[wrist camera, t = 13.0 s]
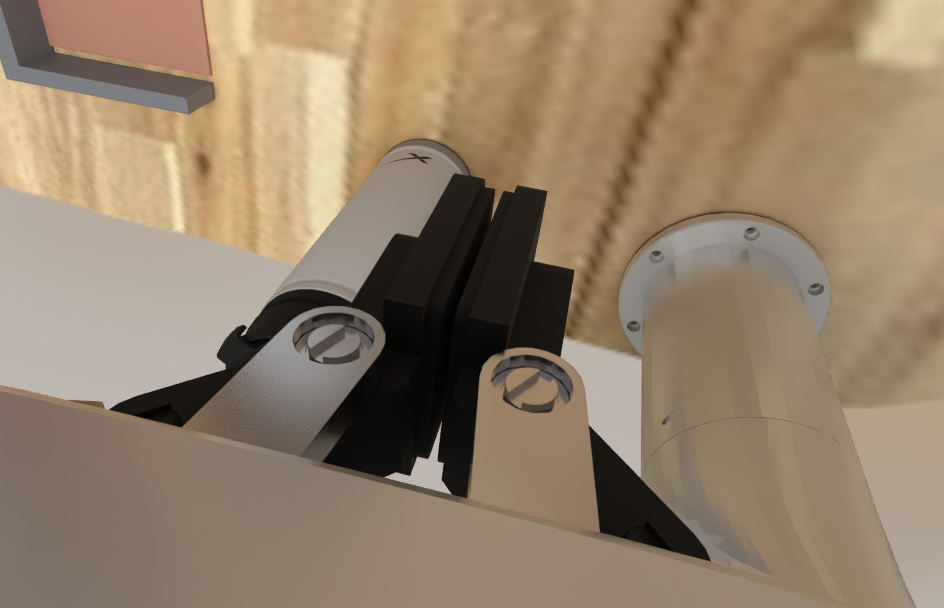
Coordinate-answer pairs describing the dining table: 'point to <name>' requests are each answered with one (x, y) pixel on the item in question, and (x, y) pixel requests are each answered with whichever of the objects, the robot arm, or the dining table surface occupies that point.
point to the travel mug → (353, 241)
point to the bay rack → (109, 48)
